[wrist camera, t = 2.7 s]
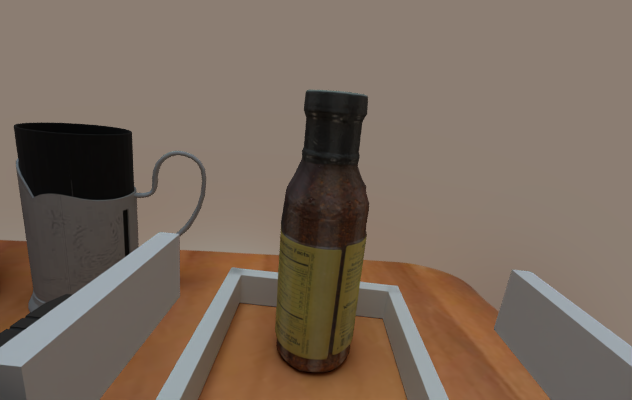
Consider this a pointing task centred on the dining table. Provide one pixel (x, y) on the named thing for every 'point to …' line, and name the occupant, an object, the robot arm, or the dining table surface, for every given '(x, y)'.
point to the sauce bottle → (323, 236)
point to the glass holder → (79, 202)
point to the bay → (262, 290)
